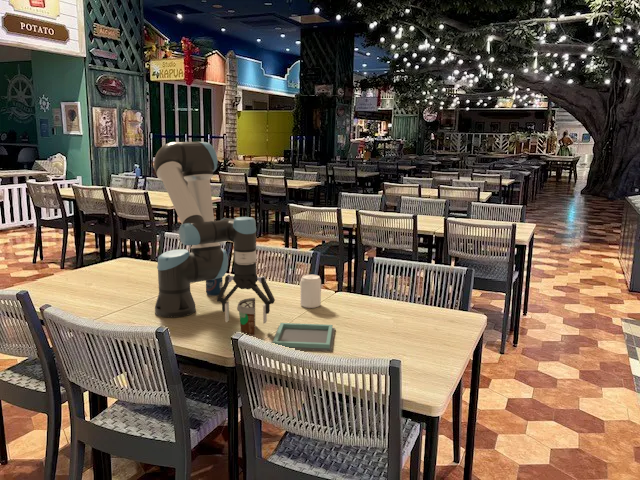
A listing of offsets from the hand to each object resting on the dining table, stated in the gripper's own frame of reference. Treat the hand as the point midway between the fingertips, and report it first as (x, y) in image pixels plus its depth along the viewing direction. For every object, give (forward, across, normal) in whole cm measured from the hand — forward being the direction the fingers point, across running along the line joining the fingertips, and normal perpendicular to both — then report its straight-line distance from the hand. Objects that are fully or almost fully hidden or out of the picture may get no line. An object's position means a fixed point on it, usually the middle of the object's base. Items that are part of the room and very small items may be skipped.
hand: (246, 321), depth 199 cm
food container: (+3, 0, 0) cm, 3 cm away
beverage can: (+3, +20, +30) cm, 36 cm away
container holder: (+3, +21, -6) cm, 22 cm away
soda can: (+3, -22, +41) cm, 47 cm away
